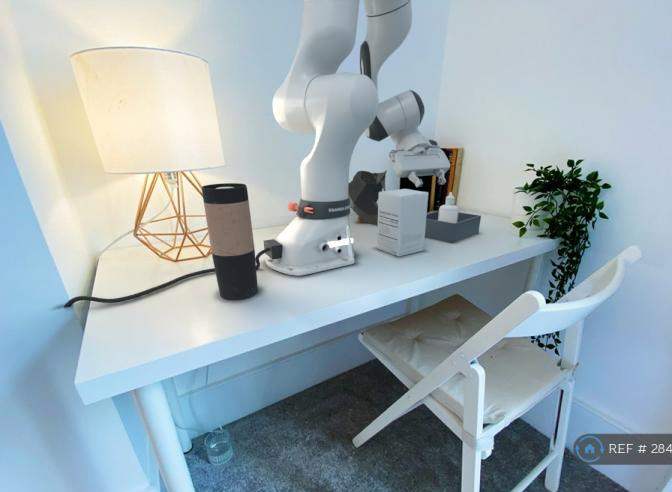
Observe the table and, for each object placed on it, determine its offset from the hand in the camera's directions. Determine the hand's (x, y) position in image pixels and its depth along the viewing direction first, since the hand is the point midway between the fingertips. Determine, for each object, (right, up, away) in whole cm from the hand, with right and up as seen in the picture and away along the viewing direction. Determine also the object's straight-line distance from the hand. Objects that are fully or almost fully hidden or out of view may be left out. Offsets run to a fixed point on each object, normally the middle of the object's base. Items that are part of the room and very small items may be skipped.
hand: (431, 184), depth 105 cm
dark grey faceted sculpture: (-18, -9, +14) cm, 25 cm away
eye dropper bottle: (+4, -15, -1) cm, 16 cm away
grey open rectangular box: (+4, -15, -1) cm, 16 cm away
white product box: (-13, -22, -15) cm, 30 cm away
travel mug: (-48, -33, -39) cm, 70 cm away
